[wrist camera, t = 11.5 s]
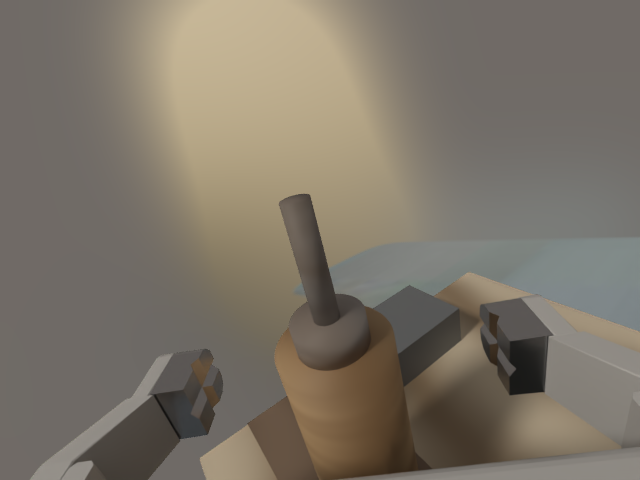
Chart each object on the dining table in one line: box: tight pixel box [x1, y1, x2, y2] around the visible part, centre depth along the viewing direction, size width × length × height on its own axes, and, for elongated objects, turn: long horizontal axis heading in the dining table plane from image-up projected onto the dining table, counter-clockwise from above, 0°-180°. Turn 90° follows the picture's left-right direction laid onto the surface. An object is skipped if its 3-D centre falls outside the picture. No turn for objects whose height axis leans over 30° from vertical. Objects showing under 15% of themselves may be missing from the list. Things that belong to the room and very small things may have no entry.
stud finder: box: [373, 285, 461, 387], centre depth 18 cm, size 6×4×2 cm, turn 124°
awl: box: [275, 194, 419, 480], centre depth 10 cm, size 3×3×12 cm
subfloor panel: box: [200, 272, 640, 480], centre depth 15 cm, size 20×14×1 cm
